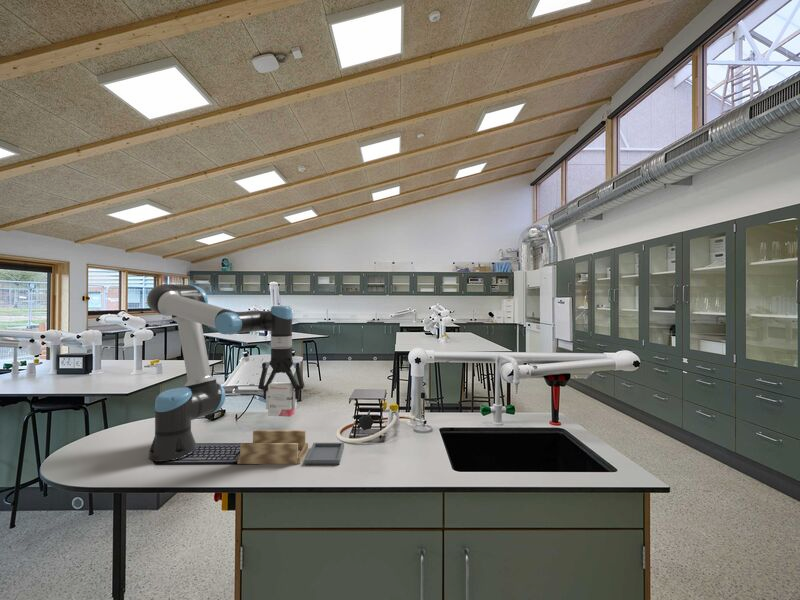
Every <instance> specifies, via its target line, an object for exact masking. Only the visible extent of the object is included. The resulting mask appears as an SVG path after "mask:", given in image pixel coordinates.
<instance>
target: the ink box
mask: <svg viewBox="0 0 800 600" xmlns="http://www.w3.org/2000/svg"><path fill="white" fill-rule="evenodd" d="M294 390H295V389H294V387H293V385H292V383H291V381H289V382H285V381H272V382H271V383H270V384H269V385H268V409H267V413H268V416H270V417H272V416H273V417H285V418H286V417H289V418H290V417H292V416H293V415H294V414H295V413H296V411H295V410H296V408H295V409H293V391H294Z"/></svg>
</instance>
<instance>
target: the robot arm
mask: <svg viewBox="0 0 800 600" xmlns="http://www.w3.org/2000/svg"><path fill="white" fill-rule="evenodd" d="M146 302H147V306H148V308H149V309H150V310H151V311H153V312H154V313H156V314H159V315H162V316H166V317H170V316H171V319H172V321H174V322H176V324H177V328H178V333H179V338H180V339H179V341H180V345H181V350H182V355H183V361H184V367H185V371H186V372H185V373H186V379H187V381H186V383H185V384H184V387H176V388H170V389H167V390H164V391H161V392H160V393H159V394H158V395H157V396H156V398H155V404H154V437H153V440H152V442H151V445H150V448H149V452H148V459H149V460H150V461H152V462H155V461H154V460H171V459H176V458H179V457H182V456H184V455H186V454H188V453H190V452H191V451H193V450H194V449H195V448H196V449H197V442H196V441H195V438H194V436H193V432H192V421H193V420H196V419H199V418H202V417H204V416H208V415H212V414H214V413H215V412H217V411H219V410H220V409H221V408H222V407H223V405H224V404H225V402H226V391H225V388H224V387H223V386H222V384H220V383H218V382H217V378H216V377H215V376H214V375H212V373H211V368H210V361H209V356H208V351H207V346H206V340H205V335H204V329H203V325H204V326H207V327H211V328H213V329H216V331H218V333H219V334H221V335H236V334H242V333H250V332H251V333H252V332H270V346H271V349H270V361H264V362H262V363H261V367H262V369H261V374H260V378H259V384H258V386H257V387H258V388H257V389H259V390H262V391H263V400H265V401H266V402H265V403H266V404H265V409H266V410H268V385H269V384H270V383H273V380H274V378H275V376H276V374H280V373H282V374H286V376H287V377H288V379H289V380H290V381H289V382H291V383H292V385H293V387H294V391H293V409H295V410H296V408H297V407H298V406H297V403H298V402H297V401H298V400H299V399H300V390H303V389H304V388H305V381H304V378H303V373H302V370H301V364H302V363H301V361H297V362H296V361H293V348H292V346H293V308H292V307H291V306H289V305H272V306H271V307H270V310H268V311H267V310H248V311H235V310H231V309H227V308H223V307H222V306H221V307H220V306H217V305H213V304H211V303H209V299H208V295H207V293H206V291H205V290H204V289H203V288H201V287H200V286H198V285H191V284H168V283H165V284H159V285H156V286H155V287H152V289H151V290H150V291H149V292H148V294H147V297H146ZM270 367H271V369H272V370H271V373H270V375H269V377H268V378H267V373H268V368H270ZM292 367H294V369H295V373H296V376H297V380H296V378H295V375H294V373H293V372H292V369H291V368H292ZM266 378H267V381H266Z"/></svg>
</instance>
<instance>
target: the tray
mask: <svg viewBox="0 0 800 600" xmlns="http://www.w3.org/2000/svg"><path fill="white" fill-rule="evenodd" d="M344 449H345V442H313V443H312V445H311V448H310V450H309V451H308V453H307V455H306V457H305V460H304V465H305V466H340V464H341V461H342V457H343V453H344Z"/></svg>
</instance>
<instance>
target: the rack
mask: <svg viewBox="0 0 800 600" xmlns="http://www.w3.org/2000/svg"><path fill="white" fill-rule="evenodd" d="M306 432H307V431H306V430H304V429H303V430H301V429H300V430H294V429H293V430H289V429H288V430H287V429H286V430H279V429H277V430H275V429H273V430H270V429H269V430H268V429H267V430H263V429H262V430H261V429H259V430H257V429H256V430H255V429H254V430H252V442H245V443H244V442H241V443H240V444H239V446H240V447H239V452H240V453H239V456H238V457H237V458H236V460H237V461H236V462H237V463H236V465H259V464H260V465H284V464H285V465H300V464H301V463H302V461H303V459H304V457H305V455H306V453H307V451H308V449H309V443H308V442H306ZM299 450H301V451H300V453H299Z"/></svg>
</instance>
